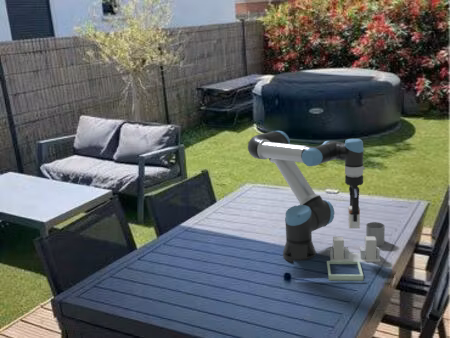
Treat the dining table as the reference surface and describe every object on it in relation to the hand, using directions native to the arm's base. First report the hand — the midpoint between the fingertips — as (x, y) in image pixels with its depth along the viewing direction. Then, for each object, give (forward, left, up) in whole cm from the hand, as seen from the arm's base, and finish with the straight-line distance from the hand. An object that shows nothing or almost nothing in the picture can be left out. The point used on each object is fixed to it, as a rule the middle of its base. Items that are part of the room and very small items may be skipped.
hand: (354, 225), depth 219 cm
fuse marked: (0, 0, 0) cm, 0 cm away
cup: (+12, +17, -17) cm, 27 cm away
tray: (-5, -13, -17) cm, 22 cm away
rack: (0, 0, -17) cm, 17 cm away
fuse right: (+7, 0, -15) cm, 17 cm away
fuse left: (-7, 0, -15) cm, 17 cm away
